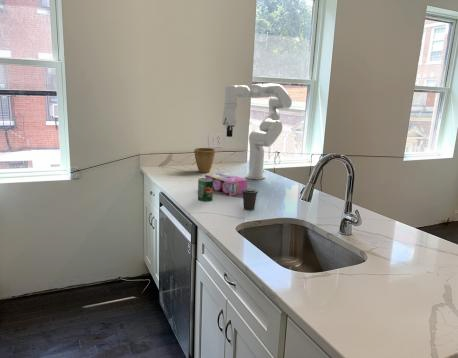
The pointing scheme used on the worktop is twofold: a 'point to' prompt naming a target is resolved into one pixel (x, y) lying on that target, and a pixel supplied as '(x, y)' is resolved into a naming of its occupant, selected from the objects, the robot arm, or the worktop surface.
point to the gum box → (228, 183)
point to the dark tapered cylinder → (249, 198)
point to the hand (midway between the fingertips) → (229, 136)
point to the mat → (231, 195)
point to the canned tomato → (205, 189)
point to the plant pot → (204, 159)
